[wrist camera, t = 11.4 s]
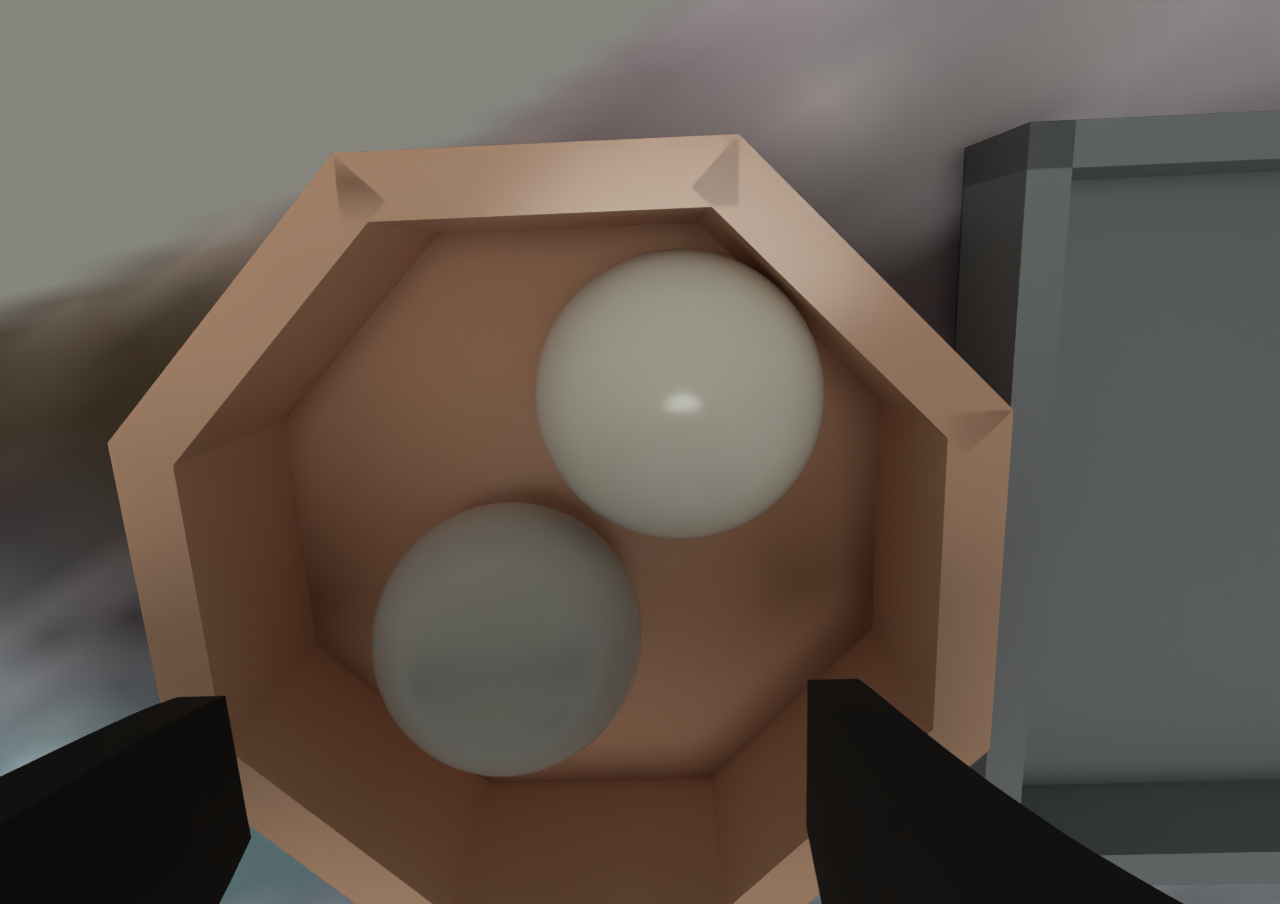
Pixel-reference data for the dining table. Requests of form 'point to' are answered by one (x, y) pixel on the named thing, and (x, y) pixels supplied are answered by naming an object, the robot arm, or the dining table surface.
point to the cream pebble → (679, 393)
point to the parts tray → (1136, 481)
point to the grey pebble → (506, 639)
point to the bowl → (522, 472)
